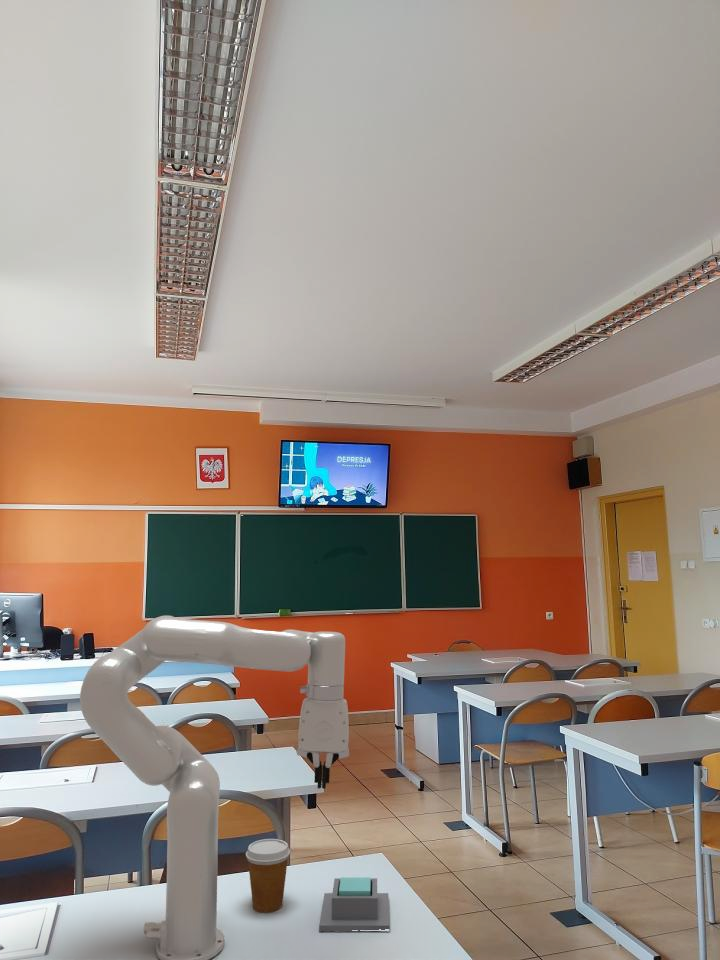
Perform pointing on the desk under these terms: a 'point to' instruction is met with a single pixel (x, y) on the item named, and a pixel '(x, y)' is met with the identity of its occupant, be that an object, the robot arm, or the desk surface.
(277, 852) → the disposable coffee cup
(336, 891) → the button housing
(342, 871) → the desk surface
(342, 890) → the button cap
